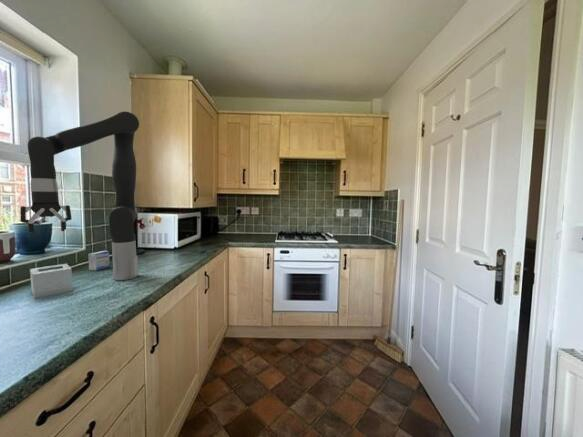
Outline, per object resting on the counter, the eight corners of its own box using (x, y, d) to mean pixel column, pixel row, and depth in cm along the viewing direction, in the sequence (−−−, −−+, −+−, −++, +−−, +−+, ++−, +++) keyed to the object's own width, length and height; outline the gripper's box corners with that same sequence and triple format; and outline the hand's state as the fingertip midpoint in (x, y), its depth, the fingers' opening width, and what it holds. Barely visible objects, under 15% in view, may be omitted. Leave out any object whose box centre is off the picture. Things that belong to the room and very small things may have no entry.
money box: (67, 284, 110) (66, 263, 109) (72, 290, 102) (71, 268, 102) (31, 291, 101) (29, 268, 101) (34, 298, 94) (32, 274, 93)
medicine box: (96, 270, 129) (95, 254, 129) (88, 270, 130) (87, 253, 130) (109, 266, 137) (109, 250, 136) (103, 266, 138) (102, 250, 137)
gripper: (67, 191, 106) (70, 229, 108) (17, 190, 96) (21, 233, 97) (70, 190, 101) (73, 231, 103) (18, 190, 91) (22, 235, 92)
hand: (48, 232), depth 100 cm, fingers open, 8 cm apart
